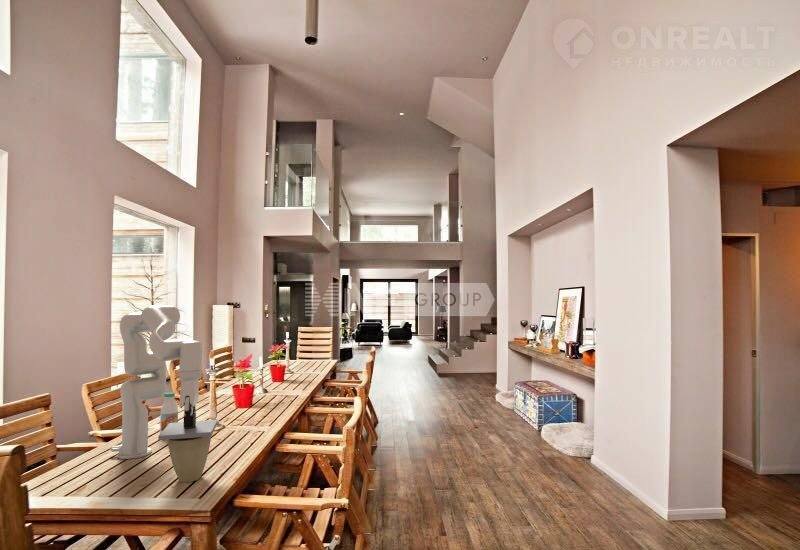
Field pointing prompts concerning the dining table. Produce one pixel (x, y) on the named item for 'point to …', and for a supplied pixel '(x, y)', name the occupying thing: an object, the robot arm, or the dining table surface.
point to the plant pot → (189, 457)
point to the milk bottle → (168, 411)
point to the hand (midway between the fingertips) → (189, 424)
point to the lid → (188, 430)
